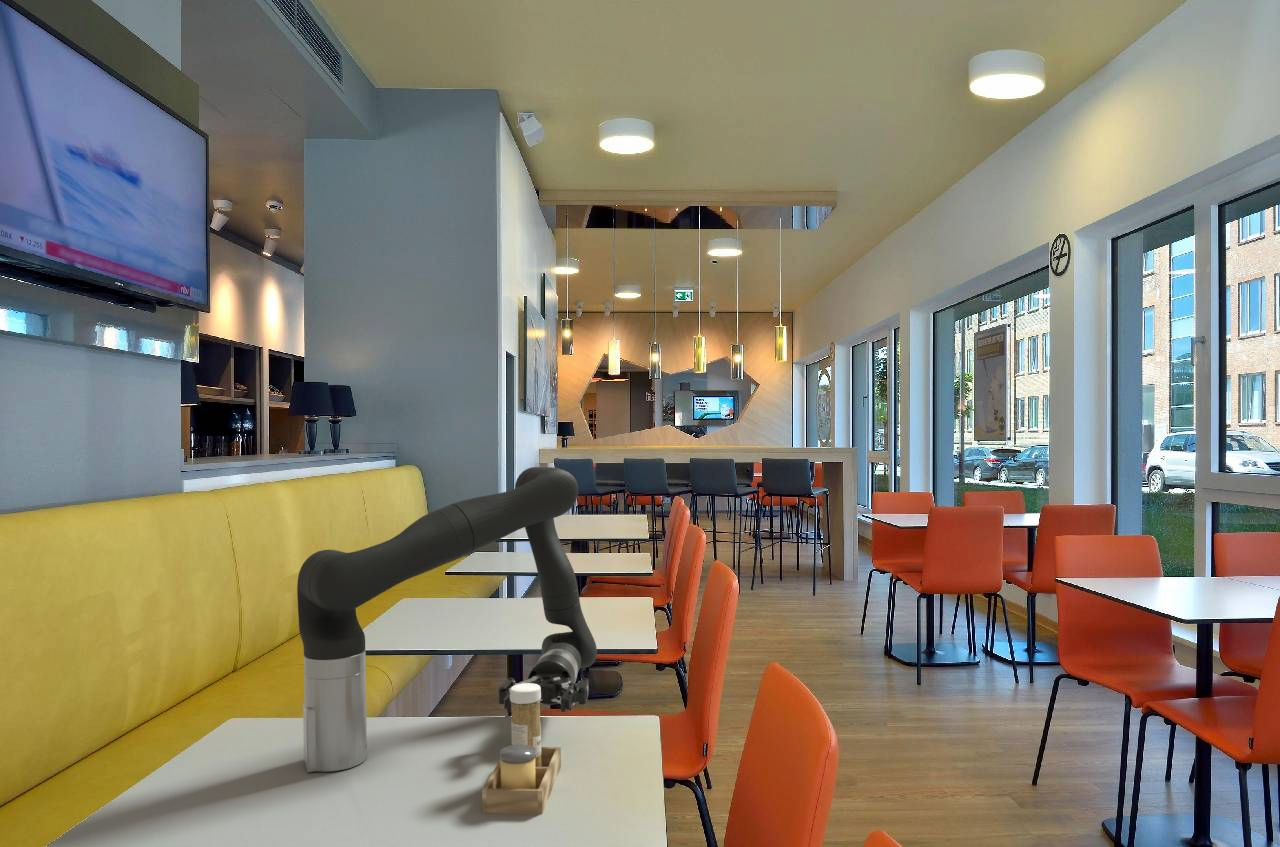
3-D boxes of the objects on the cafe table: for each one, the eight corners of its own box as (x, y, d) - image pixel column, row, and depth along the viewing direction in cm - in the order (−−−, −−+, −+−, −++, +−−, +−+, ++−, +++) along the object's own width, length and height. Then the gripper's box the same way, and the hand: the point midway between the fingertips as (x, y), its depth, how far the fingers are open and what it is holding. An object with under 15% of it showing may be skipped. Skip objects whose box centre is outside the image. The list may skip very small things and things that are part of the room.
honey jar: (506, 810, 117) (505, 760, 117) (495, 796, 121) (495, 748, 122) (541, 802, 119) (540, 753, 119) (529, 789, 124) (529, 742, 124)
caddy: (542, 817, 116) (542, 790, 116) (482, 816, 117) (481, 790, 117) (561, 770, 132) (560, 747, 132) (508, 769, 132) (507, 746, 132)
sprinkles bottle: (547, 778, 127) (546, 687, 127) (519, 786, 125) (517, 693, 125) (534, 768, 131) (532, 680, 131) (506, 775, 129) (504, 685, 129)
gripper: (513, 653, 151) (490, 681, 135) (594, 653, 150) (581, 681, 133) (514, 696, 151) (491, 729, 135) (595, 697, 150) (582, 730, 133)
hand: (536, 705), depth 134 cm, fingers open, 8 cm apart
